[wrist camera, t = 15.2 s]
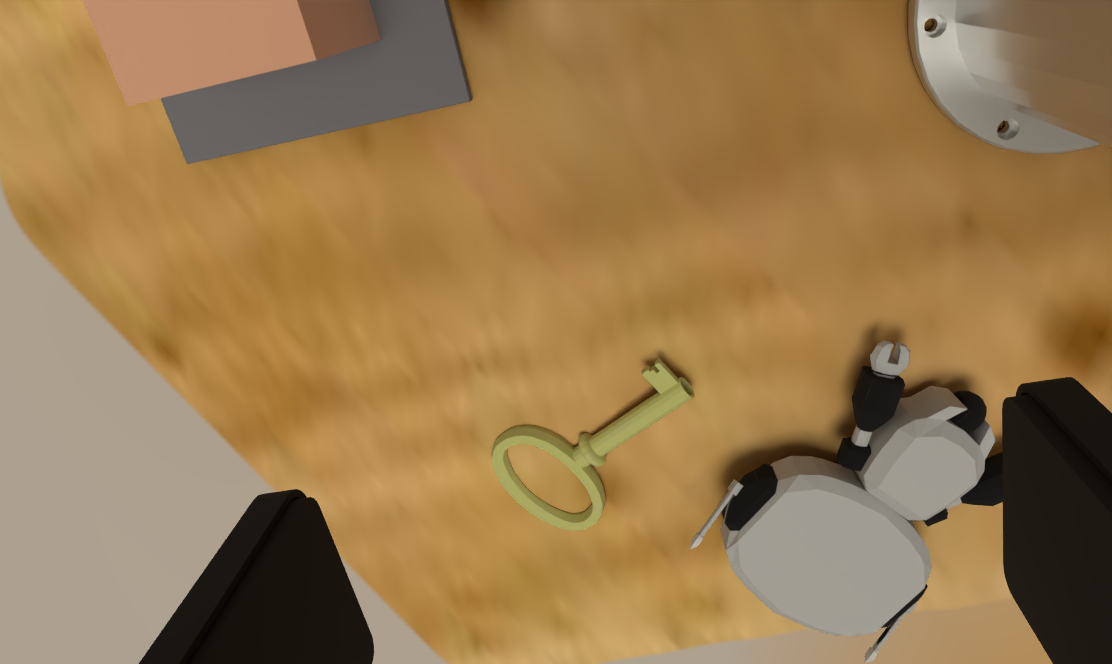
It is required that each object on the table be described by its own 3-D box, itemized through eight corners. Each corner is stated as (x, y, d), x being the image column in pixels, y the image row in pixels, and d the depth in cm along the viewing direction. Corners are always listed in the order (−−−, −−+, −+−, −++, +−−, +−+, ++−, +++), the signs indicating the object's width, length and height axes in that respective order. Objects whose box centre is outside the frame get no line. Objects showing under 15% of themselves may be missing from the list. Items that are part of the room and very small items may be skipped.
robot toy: (865, 304, 40) (674, 511, 45) (897, 337, 36) (683, 562, 41) (1039, 437, 42) (840, 621, 47) (1089, 483, 38) (865, 680, 43)
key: (701, 369, 42) (704, 389, 40) (582, 532, 47) (579, 556, 45) (579, 302, 41) (576, 319, 39) (471, 475, 46) (464, 498, 44)
